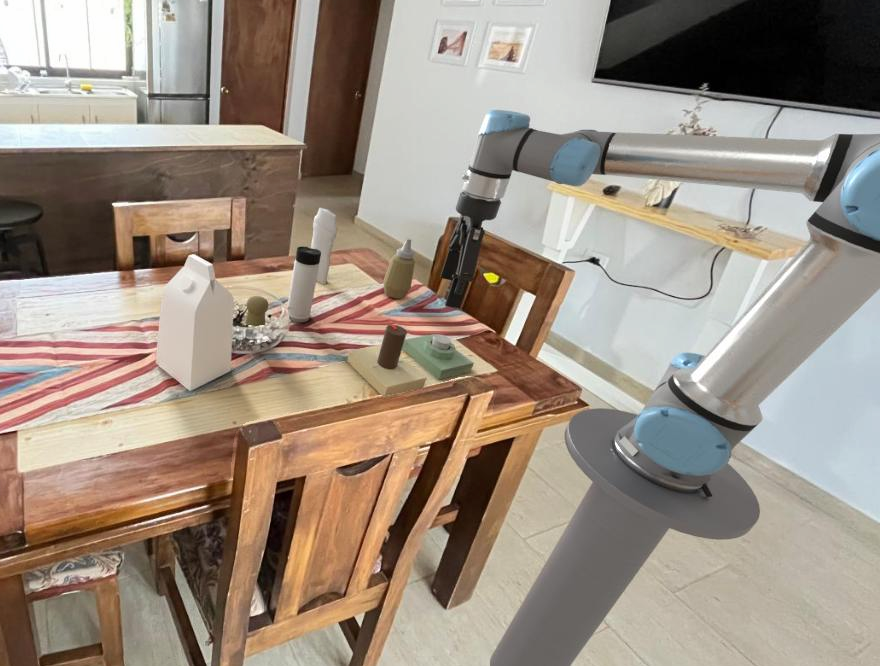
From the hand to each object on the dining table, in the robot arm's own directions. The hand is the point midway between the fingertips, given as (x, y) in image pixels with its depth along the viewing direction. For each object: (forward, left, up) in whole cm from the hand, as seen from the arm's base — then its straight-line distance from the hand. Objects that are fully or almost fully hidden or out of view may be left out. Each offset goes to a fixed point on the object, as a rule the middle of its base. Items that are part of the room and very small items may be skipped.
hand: (449, 292), depth 109 cm
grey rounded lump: (+4, -8, -18) cm, 20 cm away
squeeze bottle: (+35, -20, -22) cm, 46 cm away
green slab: (+4, -8, -22) cm, 24 cm away
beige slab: (+3, +9, -22) cm, 24 cm away
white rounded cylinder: (+51, -2, -22) cm, 56 cm away
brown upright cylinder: (+3, +9, -19) cm, 21 cm away
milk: (+18, +50, -22) cm, 57 cm away
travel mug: (+31, +16, -22) cm, 41 cm away
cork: (+25, +32, -22) cm, 46 cm away
